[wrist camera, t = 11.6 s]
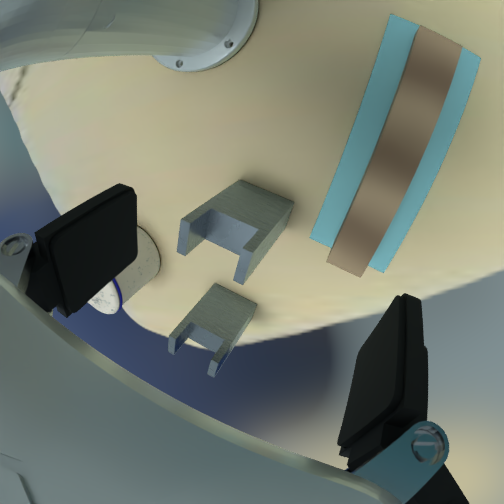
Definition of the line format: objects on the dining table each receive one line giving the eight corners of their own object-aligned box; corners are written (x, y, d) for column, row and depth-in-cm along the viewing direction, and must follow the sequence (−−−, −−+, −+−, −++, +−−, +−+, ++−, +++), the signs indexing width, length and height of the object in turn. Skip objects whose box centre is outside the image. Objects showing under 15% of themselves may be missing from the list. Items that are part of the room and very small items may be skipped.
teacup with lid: (142, 213, 37) (74, 258, 28) (173, 274, 40) (116, 328, 31) (97, 233, 43) (41, 271, 34) (124, 282, 47) (74, 325, 37)
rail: (414, 35, 16) (419, 25, 13) (450, 53, 16) (462, 46, 13) (334, 240, 28) (326, 261, 25) (364, 254, 27) (360, 277, 24)
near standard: (239, 179, 30) (181, 219, 22) (294, 202, 29) (252, 253, 21) (233, 205, 31) (176, 251, 24) (285, 228, 30) (242, 285, 22)
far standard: (215, 282, 38) (169, 335, 30) (257, 304, 37) (218, 363, 29) (211, 299, 40) (168, 351, 32) (251, 319, 38) (213, 377, 31)
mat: (390, 15, 17) (390, 13, 16) (478, 58, 15) (481, 58, 15) (310, 235, 30) (309, 237, 29) (383, 269, 28) (383, 273, 28)
